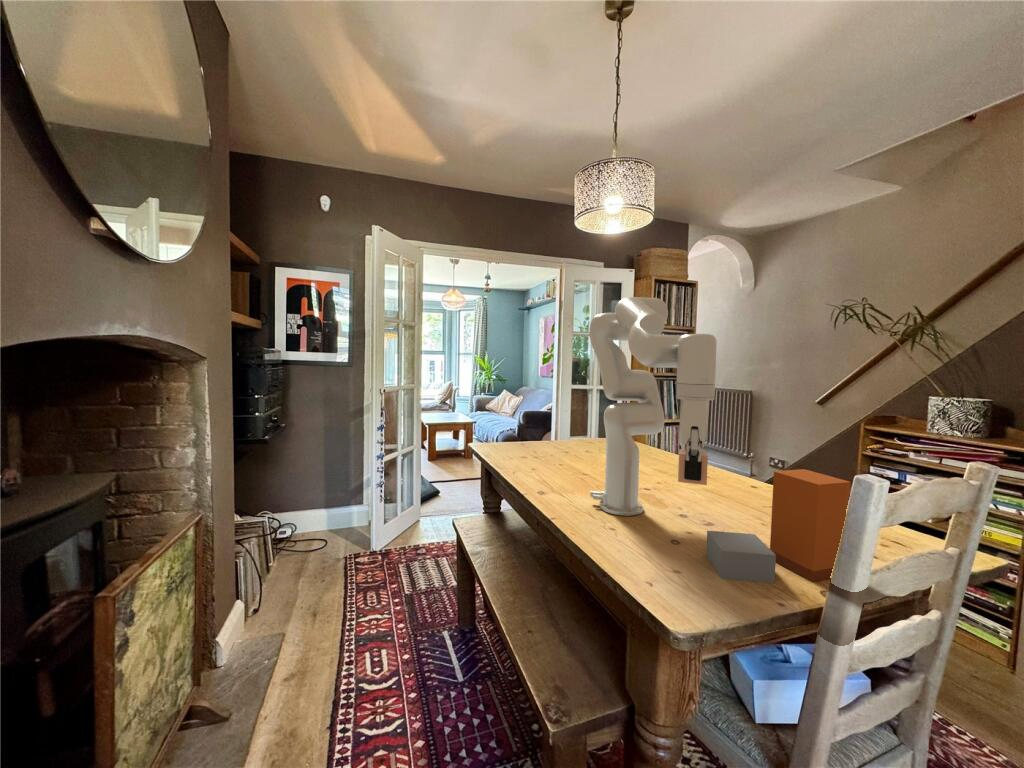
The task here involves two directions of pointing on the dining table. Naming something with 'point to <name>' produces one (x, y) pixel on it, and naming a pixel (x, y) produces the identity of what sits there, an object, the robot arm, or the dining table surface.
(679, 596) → the dining table surface
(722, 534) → the charcoal block
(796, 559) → the tall orange brick
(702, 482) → the terracotta block
